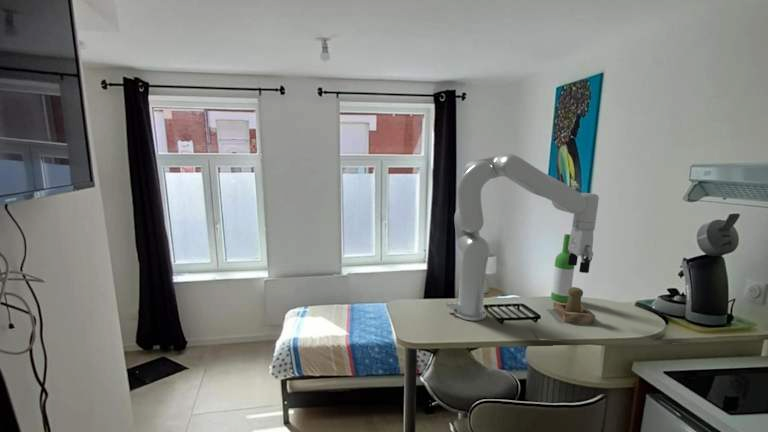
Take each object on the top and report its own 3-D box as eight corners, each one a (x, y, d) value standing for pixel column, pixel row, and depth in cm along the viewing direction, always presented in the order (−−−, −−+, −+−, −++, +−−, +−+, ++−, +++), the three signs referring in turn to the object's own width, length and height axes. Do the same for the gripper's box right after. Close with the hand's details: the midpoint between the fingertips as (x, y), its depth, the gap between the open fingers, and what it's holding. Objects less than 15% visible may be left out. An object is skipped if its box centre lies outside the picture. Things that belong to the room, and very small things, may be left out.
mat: (558, 323, 138) (558, 322, 138) (545, 310, 150) (545, 309, 150) (596, 326, 137) (596, 325, 137) (580, 312, 150) (580, 311, 150)
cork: (583, 318, 140) (587, 291, 138) (566, 316, 141) (570, 289, 139) (578, 312, 146) (581, 286, 144) (562, 310, 147) (565, 284, 145)
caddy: (564, 322, 138) (565, 313, 138) (552, 310, 149) (553, 302, 149) (593, 324, 138) (595, 315, 137) (580, 312, 149) (581, 304, 148)
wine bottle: (546, 297, 165) (554, 233, 160) (560, 296, 167) (568, 232, 162) (559, 304, 157) (567, 236, 153) (573, 303, 160) (582, 236, 155)
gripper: (563, 221, 147) (558, 262, 149) (584, 229, 130) (578, 274, 132) (582, 222, 146) (577, 263, 149) (606, 230, 129) (599, 276, 132)
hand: (577, 268), depth 141 cm, fingers open, 9 cm apart
